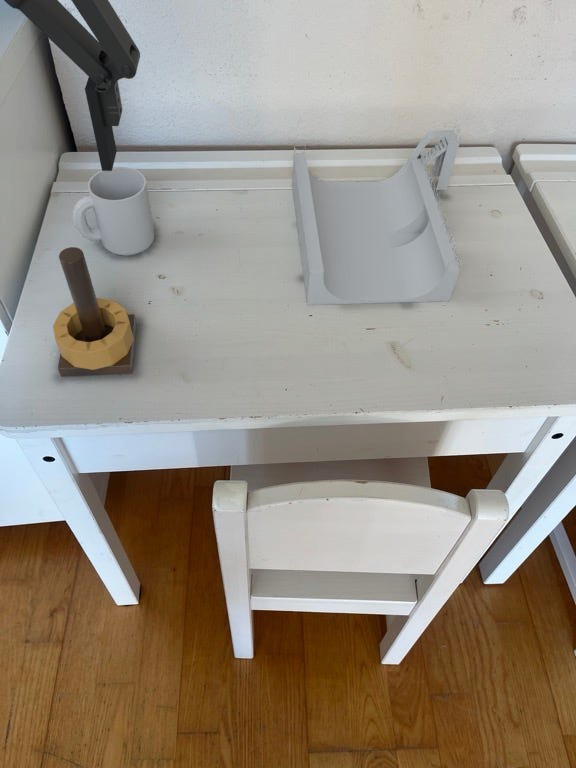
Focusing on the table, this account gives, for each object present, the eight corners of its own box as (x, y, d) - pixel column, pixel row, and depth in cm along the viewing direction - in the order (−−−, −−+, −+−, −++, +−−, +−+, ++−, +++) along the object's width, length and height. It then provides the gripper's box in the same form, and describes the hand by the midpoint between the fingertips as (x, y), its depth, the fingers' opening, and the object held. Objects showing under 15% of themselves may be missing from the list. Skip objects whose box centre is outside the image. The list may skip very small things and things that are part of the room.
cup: (161, 249, 86) (153, 193, 78) (88, 267, 83) (72, 212, 76) (147, 217, 89) (137, 161, 82) (76, 234, 87) (59, 178, 80)
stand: (60, 376, 72) (23, 284, 60) (69, 324, 77) (36, 229, 65) (132, 373, 73) (108, 281, 61) (136, 322, 77) (115, 227, 66)
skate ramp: (292, 185, 95) (295, 123, 87) (439, 183, 97) (456, 122, 89) (307, 304, 80) (312, 243, 72) (481, 300, 82) (505, 239, 74)
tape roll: (45, 343, 73) (38, 326, 71) (101, 305, 77) (96, 287, 74) (91, 381, 70) (86, 364, 68) (147, 339, 74) (143, 321, 71)
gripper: (154, -209, 36) (185, 136, 52) (-310, -237, 34) (-126, 127, 51) (139, -175, 31) (178, 191, 48) (-397, -205, 30) (-163, 183, 47)
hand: (21, 158), depth 50 cm, fingers open, 13 cm apart
